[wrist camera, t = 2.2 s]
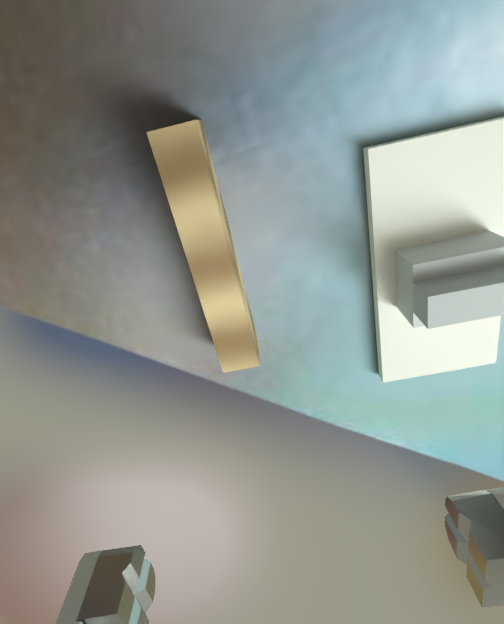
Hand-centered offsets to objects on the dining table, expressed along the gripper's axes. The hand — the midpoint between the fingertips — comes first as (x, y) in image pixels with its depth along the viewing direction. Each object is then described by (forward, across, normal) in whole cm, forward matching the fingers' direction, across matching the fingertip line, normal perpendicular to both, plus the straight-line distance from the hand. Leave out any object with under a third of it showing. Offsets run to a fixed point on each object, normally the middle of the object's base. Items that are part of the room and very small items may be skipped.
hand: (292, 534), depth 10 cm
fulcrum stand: (+22, -14, +3) cm, 26 cm away
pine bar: (+23, +3, -2) cm, 23 cm away
